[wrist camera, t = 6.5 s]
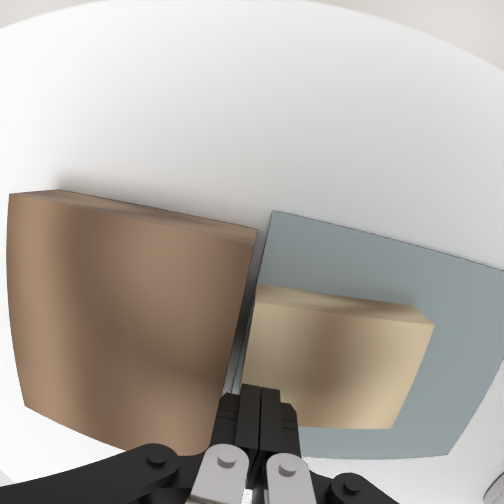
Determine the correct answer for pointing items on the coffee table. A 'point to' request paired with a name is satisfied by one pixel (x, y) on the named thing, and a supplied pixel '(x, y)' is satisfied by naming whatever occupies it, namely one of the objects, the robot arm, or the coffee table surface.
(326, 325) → the oak tile
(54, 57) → the coffee table surface
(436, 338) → the grey mat
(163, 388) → the block
